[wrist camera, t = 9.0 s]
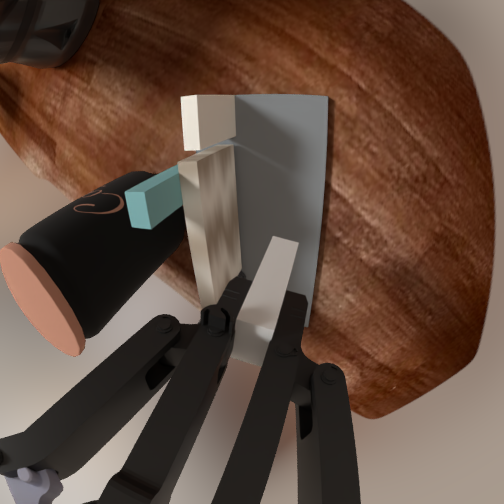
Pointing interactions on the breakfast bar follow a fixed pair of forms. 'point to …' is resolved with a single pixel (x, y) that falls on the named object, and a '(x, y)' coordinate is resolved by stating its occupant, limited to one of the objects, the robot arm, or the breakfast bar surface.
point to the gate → (211, 219)
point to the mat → (280, 180)
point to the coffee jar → (86, 263)
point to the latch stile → (154, 199)
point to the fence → (207, 120)
